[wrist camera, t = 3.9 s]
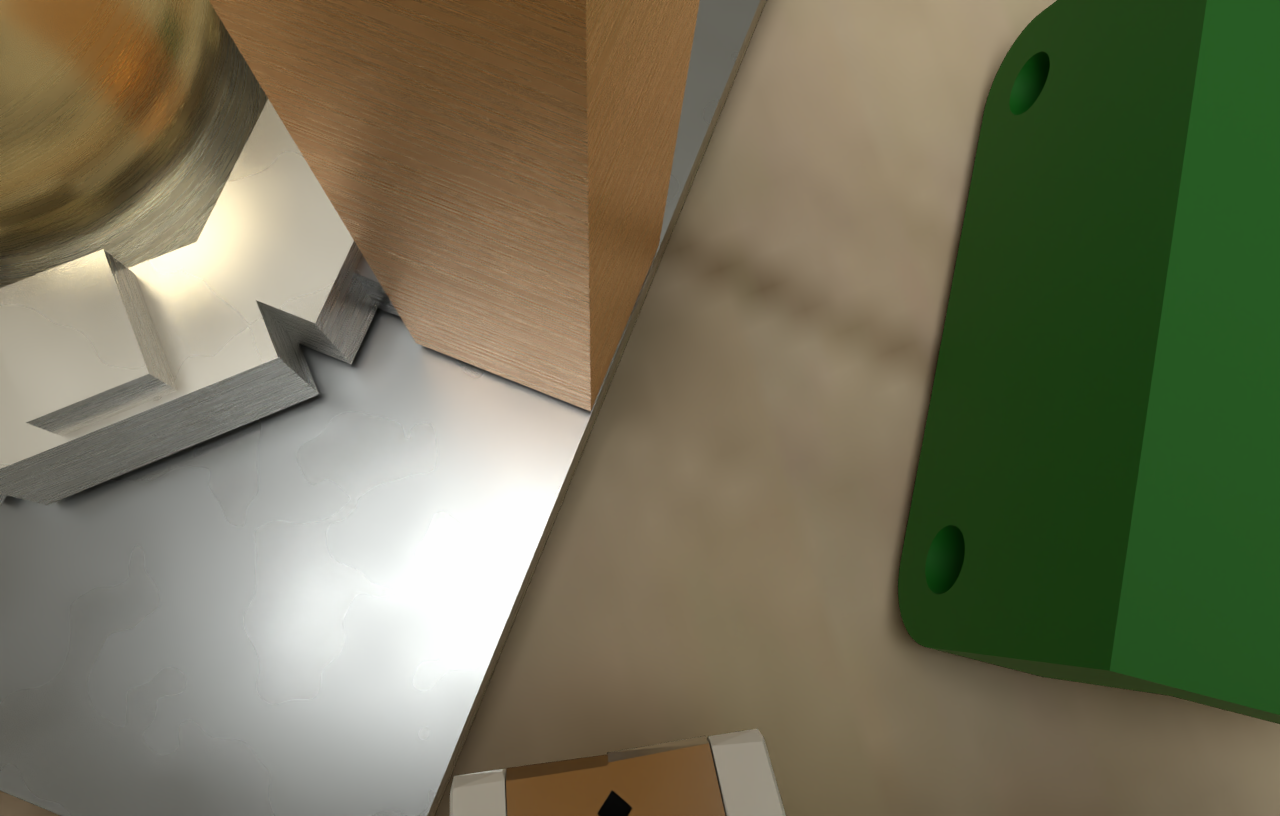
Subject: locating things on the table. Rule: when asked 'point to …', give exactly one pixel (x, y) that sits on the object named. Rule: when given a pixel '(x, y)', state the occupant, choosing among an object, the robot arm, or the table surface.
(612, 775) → the robot arm
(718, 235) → the table surface
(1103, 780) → the table surface
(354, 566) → the base plate
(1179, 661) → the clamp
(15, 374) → the ring of rectangular blocks
